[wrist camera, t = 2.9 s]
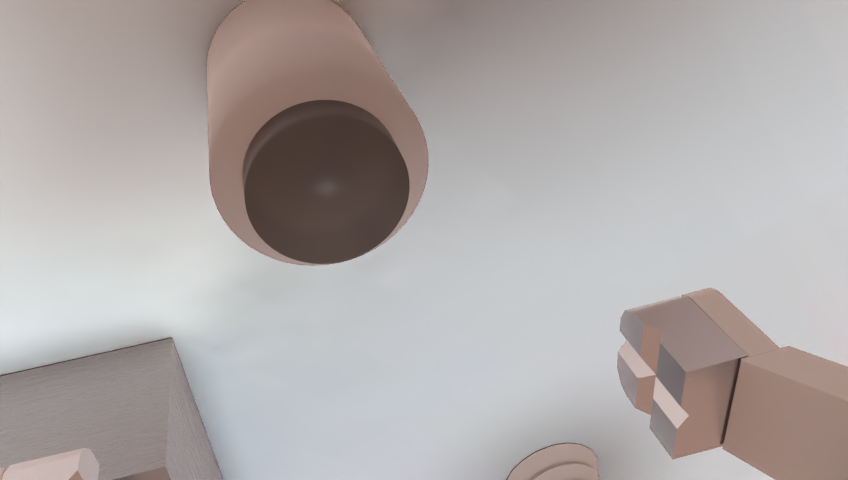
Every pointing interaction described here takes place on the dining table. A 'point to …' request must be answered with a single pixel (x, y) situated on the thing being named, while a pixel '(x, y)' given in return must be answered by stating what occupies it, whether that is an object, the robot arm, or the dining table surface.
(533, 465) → the chalice
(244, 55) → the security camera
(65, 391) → the motor block
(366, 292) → the dining table surface
